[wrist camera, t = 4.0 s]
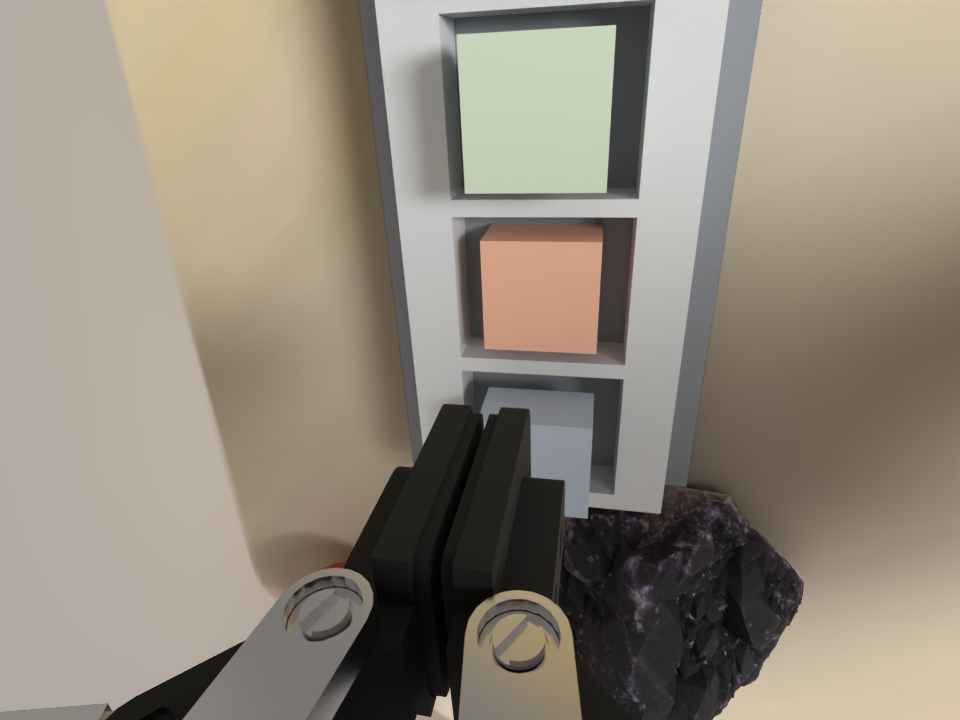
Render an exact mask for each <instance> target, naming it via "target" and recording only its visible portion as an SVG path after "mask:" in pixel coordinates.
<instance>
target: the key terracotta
mask: <svg viewBox="0 0 960 720" xmlns="http://www.w3.org/2000/svg"><path fill="white" fill-rule="evenodd" d="M602 246H603V224H507V223H492V224H491V226H490V227H489V229H488V230H487V232H486V233H485V234H484V236H483V237H482V239H481V240H480V255H481V278H482V301H483V324H484V347H485V349H496V350H518V351H539V352H561V353H582V354H596V351H597V333H598V316H599V298H600V281H601V263H602Z"/></svg>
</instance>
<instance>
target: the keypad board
mask: <svg viewBox="0 0 960 720" xmlns="http://www.w3.org/2000/svg"><path fill="white" fill-rule="evenodd" d="M762 1H763V0H358V2H359V11H360V19H361V28H362V36H363V44H364V53H365V61H366V70H367V78H368V86H369V95H370V103H371V111H372V120H373V128H374V137H375V145H376V153H377V162H378V170H379V179H380V187H381V195H382V204H383V212H384V220H385V229H386V237H387V246H388V254H389V262H390V271H391V279H392V288H393V296H394V304H395V313H396V321H397V329H398V338H399V346H400V355H401V363H402V371H403V380H404V388H405V397H406V405H407V413H408V422H409V430H410V439H411V447H412V455H413V463H415V462H416V459H417V457H418V455H419V453H420V451H421V449H422V447H423V445H424V443H425V441H426V438H427V436H428V434H429V432H430V430H431V428H432V426H433V424H434V422H435V420H436V418H437V415H438V413H439V411H440V409H441V407H442V405H443V404H459V405H472V407H473V410H474V413H480V411H481V408H482V405H483V403H484V400H485V397H486V394H487V391H488V388H489V387H496V388H513V389H530V390H547V391H564V392H581V393H594V407H593V435H592V453H591V470H590V487H589V505H588V507H595V508H606V509H616V510H626V511H637V512H647V513H658V514H661V508H662V500H663V493H664V485H677V486H687V480H688V473H689V467H690V461H691V454H692V448H693V441H694V435H695V429H696V422H697V416H698V409H699V403H700V397H701V390H702V384H703V378H704V371H705V365H706V358H707V352H708V346H709V339H710V333H711V327H712V320H713V314H714V307H715V301H716V295H717V288H718V282H719V275H720V269H721V263H722V256H723V250H724V244H725V237H726V231H727V224H728V218H729V212H730V205H731V199H732V192H733V186H734V180H735V173H736V167H737V161H738V154H739V148H740V141H741V135H742V129H743V122H744V116H745V110H746V103H747V97H748V90H749V84H750V78H751V71H752V65H753V58H754V52H755V46H756V39H757V33H758V27H759V20H760V14H761V7H762ZM607 25H616V37H615V54H614V72H613V89H612V106H611V124H610V141H609V158H608V176H607V193H506V194H465V185H464V167H463V148H462V129H461V110H460V92H459V73H458V54H457V36H456V35H457V34H474V33H490V32H507V31H524V30H541V29H557V28H574V27H591V26H607ZM492 223H507V224H603V246H602V263H601V281H600V298H599V316H598V333H597V351H596V354H582V353H561V352H539V351H518V350H496V349H485V347H484V324H483V301H482V278H481V255H480V240H481V239H482V237H483V236H484V234H485V233H486V232H487V230H488V229H489V227H490V226H491V224H492Z"/></svg>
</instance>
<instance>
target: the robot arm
mask: <svg viewBox="0 0 960 720" xmlns="http://www.w3.org/2000/svg"><path fill="white" fill-rule="evenodd" d="M564 513H565V480H556V479H544V478H532V477H531V424H530V410H529V409H526V408H509V407H501V408H500V410H499V414H489V416H488V419H487V422H486V425H485V428H484V421H483V415H482V413H474V410H473V407H472V405H459V404H443V405H442V407H441V409H440V411H439V413H438V415H437V418H436V420H435V422H434V424H433V426H432V428H431V430H430V432H429V434H428V436H427V438H426V441H425V443H424V445H423V447H422V449H421V451H420V453H419V455H418V457H417V459H416V462H415V464H414V466H413V468H412V467H400V466H399V467H397V468H396V469H395V470H394V472H393V473H392V475H391V477H390V479H389V481H388V483H387V485H386V487H385V489H384V490H383V492H382V494H381V496H380V498H379V500H378V502H377V504H376V506H375V508H374V510H373V512H372V514H371V515H370V517H369V519H368V521H367V523H366V525H365V527H364V529H363V531H362V533H361V535H360V537H359V539H358V540H357V542H356V544H355V546H354V548H353V550H352V552H351V554H350V556H349V558H348V560H347V562H346V564H345V566H344V567H343V568H330V569H323V570H319V571H316V572H314V573H311V574H308V575H306V576H304V577H303V578H301V579H300V580H298V581H296V582H295V583H293V584H292V585H291V586H290V587H289V588H288V589H287V590H286V591H285V592H284V593H283V594H282V595H281V596H280V598H279V599H278V600H277V602H276V603H275V604H274V605H273V607H272V608H271V609H270V610H269V612H268V613H267V614H266V615H265V617H264V618H263V619H262V620H261V622H260V623H259V624H258V626H257V627H256V628H255V629H254V630H253V632H252V633H251V634H250V636H249V637H248V638H247V639H246V640H245V641H244V642H241V643H239V644H237V645H236V646H234V647H231V648H230V649H228V650H226V651H224V652H222V653H220V654H218V655H216V656H214V657H212V658H210V659H208V660H206V661H204V662H202V663H200V664H198V665H196V666H195V667H193V668H191V669H189V670H187V671H185V672H183V673H181V674H179V675H177V676H175V677H173V678H171V679H169V680H167V681H165V682H163V683H161V684H160V685H158V686H156V687H154V688H152V689H150V690H148V691H146V692H144V693H142V694H140V695H138V696H136V697H135V698H133V699H132V700H130V701H128V702H127V703H125V704H124V705H122V706H121V707H119V708H117V709H116V710H113V711H112V710H111V708H110V707H109V705H108V704H107V703H106V704H94V705H81V706H69V707H56V708H44V709H31V710H19V711H6V712H0V720H415V719H416V716H417V715H423V716H428V717H431V715H432V711H433V707H434V704H435V700H436V696H442V697H446V696H447V694H448V692H449V689H450V690H451V698H452V706H453V715H454V720H633V719H632V718H631V717H630V716H629V714H628V713H627V712H626V711H625V710H624V709H623V708H622V707H621V706H620V705H619V704H618V702H617V701H616V700H615V699H614V698H613V697H612V696H611V695H610V694H609V693H608V691H607V690H606V689H605V688H604V687H603V686H602V685H601V684H600V683H599V682H598V681H597V679H596V678H595V677H594V676H593V675H592V674H591V673H590V672H589V671H588V670H587V669H586V667H585V666H584V665H583V664H582V663H581V662H580V661H579V660H578V659H577V658H576V657H575V653H574V644H573V635H572V631H571V628H570V624H569V621H568V619H567V617H566V616H565V614H564V613H563V612H562V610H561V609H560V607H559V606H558V598H559V586H560V575H561V564H562V552H563V536H564Z"/></svg>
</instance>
